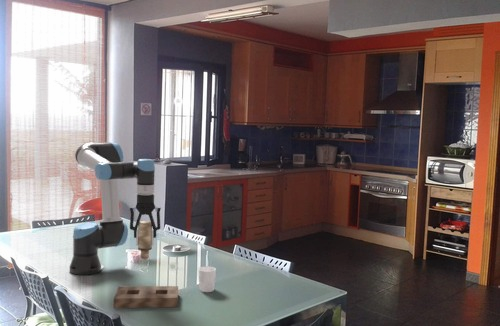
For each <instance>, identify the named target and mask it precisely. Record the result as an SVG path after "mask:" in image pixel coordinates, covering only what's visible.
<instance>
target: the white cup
mask: <svg viewBox="0 0 500 326" xmlns="http://www.w3.org/2000/svg"><path fill="white" fill-rule="evenodd" d="M216 272H217V268H216V267H214V266H208V265H207V266H200V267H199V268H198V285H199V287H198V289H199V291H200V292H202V293H211V292H214V290H215V284H216Z"/></svg>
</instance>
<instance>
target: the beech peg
mask: <svg viewBox="0 0 500 326" xmlns="http://www.w3.org/2000/svg"><path fill="white" fill-rule="evenodd" d="M137 230H138V246H137V250H138V251H140V259H141V260H142V259H143V260H146V259H149V258H150V251H151V250H152V249H153V246H152V230H153V227H152V224H151V221H150V220H149V221H148V220H147V221H146V220H143V221H140V222H139V224H138V228H137Z"/></svg>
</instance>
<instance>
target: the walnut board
mask: <svg viewBox="0 0 500 326" xmlns="http://www.w3.org/2000/svg"><path fill="white" fill-rule="evenodd" d="M178 302H179V286H177V285H174V286H173V285H169V286H168V285H167V286H166V285H165V286H164V285H163V286H162V285H161V286H158V285H155V286H153V285H151V286H149V285H148V286H145V285H144V286H140V285H139V286H118V287H117V290H116V292H115V294H114V296H113V308H114V309H120V308H121V309H127V308H131V309H132V308H135V309H136V308H138V309H139V308H178Z"/></svg>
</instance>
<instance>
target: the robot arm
mask: <svg viewBox="0 0 500 326" xmlns="http://www.w3.org/2000/svg"><path fill="white" fill-rule="evenodd" d="M74 153H75V154H74V156H75V157H74V158H75V161H76V162H77V163H78V164H79V165H80V166H82V167H87V168H89V169H90V170H92V171H94V174H95V175H94V176H95V177H96V178H97V180H99V182H100V193H101V194H100V197H101V199H100V200H101V211H102V212H101V213H102V219H101V220H99V225H98V223H96V222H85V223H81V224H78V225H76V226H75V227H74V228H73V233H72V234H73V235H72V239H73V240H72V241H73V242H72V245H73V249H72V251H73V253H72V259H71V262H70V264H69V265H70V266H69V273H71V274H73V275H79V276H83V275H84V276H87V275H93V274H97V273H100V272H101V270H102V264H101V261H100V258H99V251H98V250H99V249H104V248H113V247H115V248H116V247H119V246H120V247H121V246H123V245H124V244H126V242H127V240H128V236H129V235H128V234H129V230H130V231H131V230H132V231H133V237H134V239H136V243H135V245H136V246H137V247H138V224H139V222H141V218H142V216H144V215H145V216H146V215H147V216H148V218H149V222H151V224H152V247H153V246H154V245H155V240H154V239H156V237H157V231H159V230H160V229H161V209H162V208H161V207H160V206H156V205H155V195H154V193H155V170H156V168H155V160H153V159H149V158H140V159H138V160H137V161H134V160H133V161H124V154H123V153H124V152H123V149H122V147H121V145H120V144H119V143H116V142H111V141H110V142H86V143H84V144H82V145H80V146H78V148H76V151H75V152H74ZM125 179H126V180H128V179H130V180H131V179H136V193H137V195H136V204H135V205H134V206H131V207H130V208H129V211H130V218H129V219H130V221H129V229H128V224H127V223H126V222H124V219H123V218H122V217H121V215H120V199H119V198H120V197H119V184H118V182H119V181H118V180H125ZM136 210H137V212H138V215H137V216H138V217H137V218H136V222H135V221H134V220H135V212H136ZM154 211H155V212H156V223H155V219H154V216H153V213H152V212H154ZM134 222H135V224H134Z"/></svg>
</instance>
